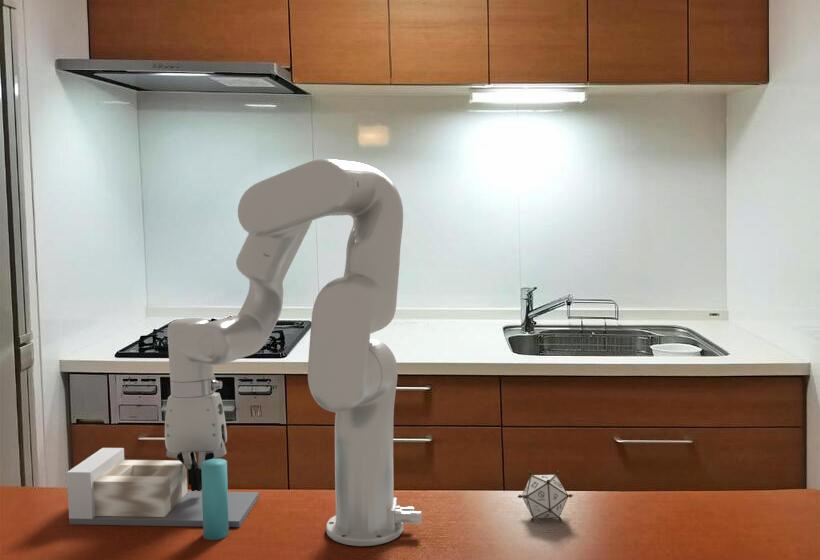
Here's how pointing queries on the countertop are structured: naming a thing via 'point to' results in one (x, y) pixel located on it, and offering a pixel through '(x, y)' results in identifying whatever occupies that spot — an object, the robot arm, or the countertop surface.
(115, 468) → the block
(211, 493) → the dowel
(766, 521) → the countertop surface
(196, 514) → the track
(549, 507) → the game die
